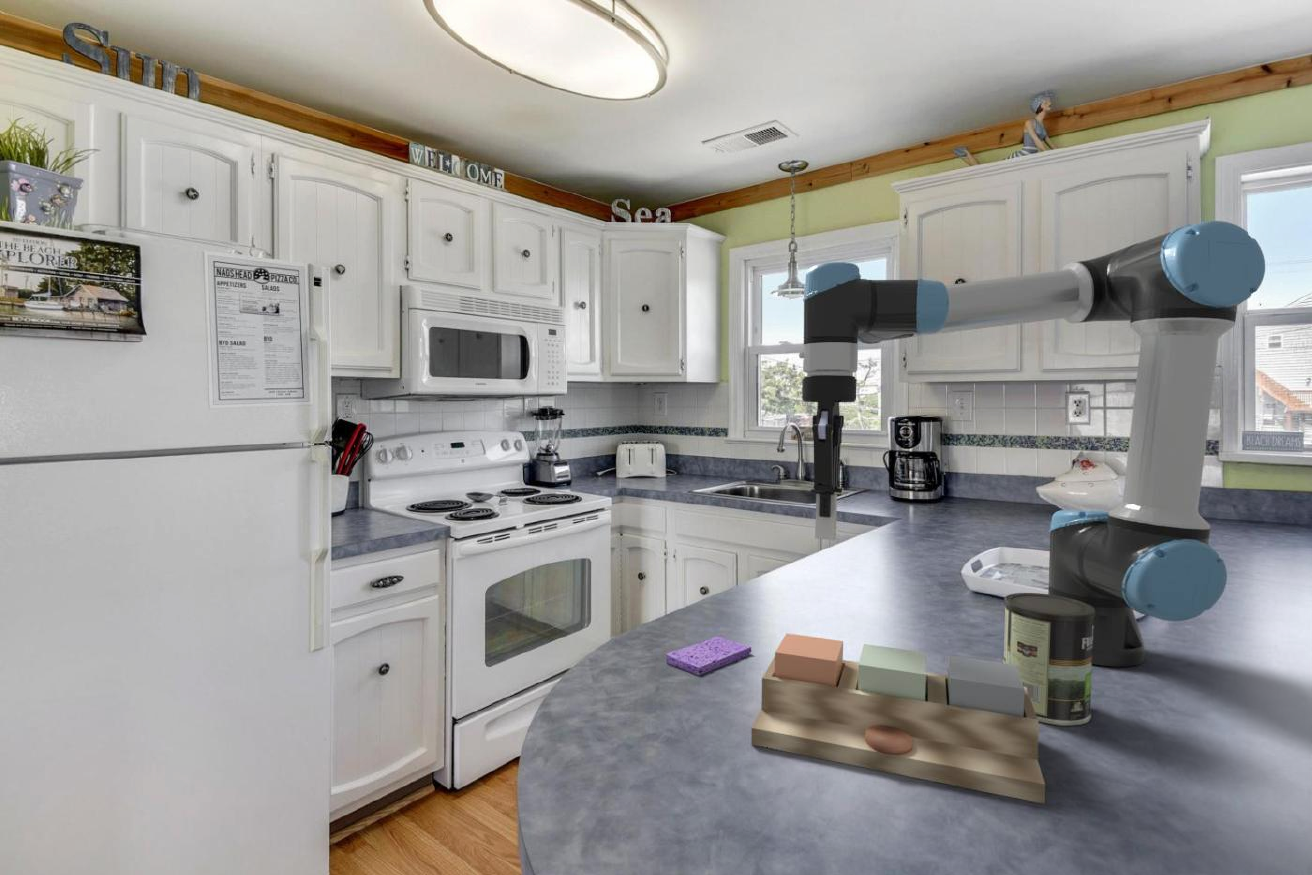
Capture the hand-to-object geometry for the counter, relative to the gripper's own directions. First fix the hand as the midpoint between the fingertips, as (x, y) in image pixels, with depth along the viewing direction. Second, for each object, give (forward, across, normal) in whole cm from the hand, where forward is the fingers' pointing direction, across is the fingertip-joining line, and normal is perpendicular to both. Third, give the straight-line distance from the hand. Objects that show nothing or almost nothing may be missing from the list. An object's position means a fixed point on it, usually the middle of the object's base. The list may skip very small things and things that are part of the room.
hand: (825, 538), depth 97 cm
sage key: (+17, +13, +10) cm, 23 cm away
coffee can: (+21, -2, +29) cm, 35 cm away
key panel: (+21, +16, +10) cm, 28 cm away
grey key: (+17, +13, +20) cm, 29 cm away
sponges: (+21, 0, -17) cm, 28 cm away
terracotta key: (+17, +13, 0) cm, 21 cm away
